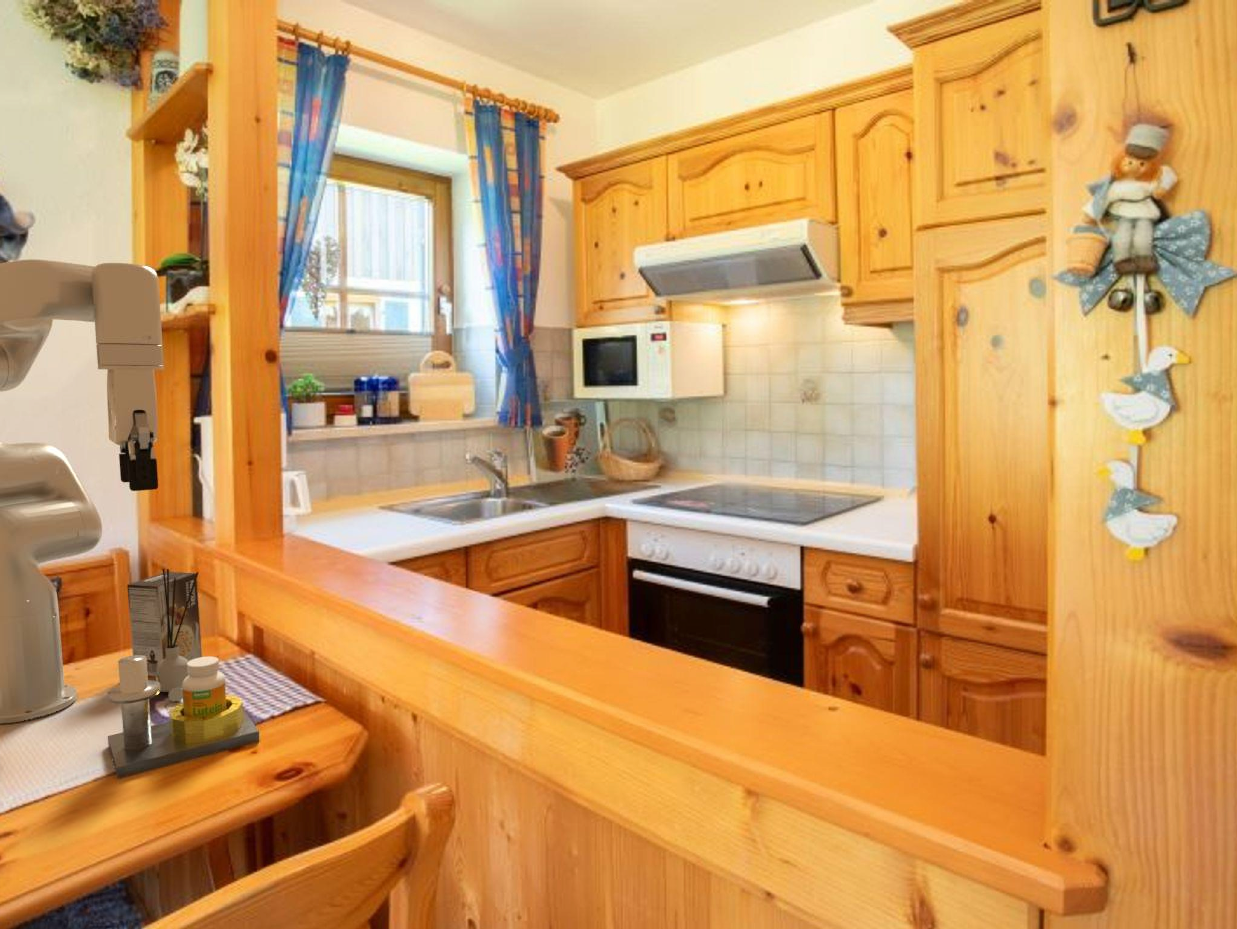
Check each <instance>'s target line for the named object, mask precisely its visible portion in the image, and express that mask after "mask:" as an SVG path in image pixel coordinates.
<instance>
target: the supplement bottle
mask: <svg viewBox="0 0 1237 929" xmlns="http://www.w3.org/2000/svg"><path fill="white" fill-rule="evenodd" d="M219 661H220V660H219V658H218V657H215V656H202V657H200V658H196V659H193V660H190V661H189V662H188V663H187V674H188V675H189V676H188V677H186V678H185V679H184V681H183V684H182V691H183V699H182V703H183V708H184V716H185V717H190V718H197V717H207V716H211V715H215V714H219V713H221V712H223V711H225V710H227V708H226V694H227V689H226V687H227V686H226V676H225V674H224V673H223V672H221V671H219V669H220V662H219Z"/></svg>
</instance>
